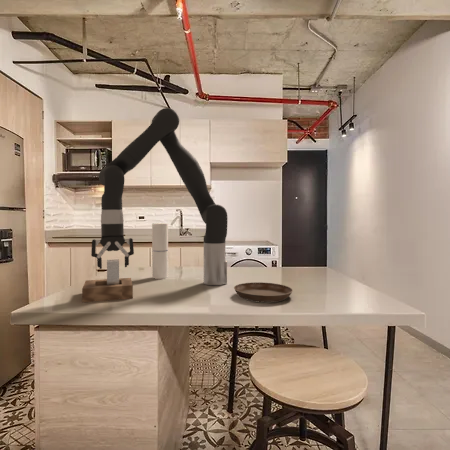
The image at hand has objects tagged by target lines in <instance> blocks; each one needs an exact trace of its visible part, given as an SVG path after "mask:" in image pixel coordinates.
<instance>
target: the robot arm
mask: <svg viewBox="0 0 450 450" xmlns="http://www.w3.org/2000/svg"><path fill="white" fill-rule="evenodd" d="M179 116H180V115H179V114H178V113H177V111H176V110H174V109H173V108H169V107H164V108H162V109H160V110H159V111H158V112H157V113H156V114H155V115H154V116H153V117H152V119H151V123H150V124H149V126H148V127H147V128H146V129H145V130H144V131H143V132H142V133H141V134H140V135H138V136H137V137H136V138H135V139H134V140H133V141H131V142H130V143H129V144H128V145H127V146H126V147H125V148H124V149H123V150H122V151H121V152H120V153H118V155H117V156H116V157H115V158H114V159H112V160H111V161H110V162H109V163H108V164H106V165H105V166H104V167H103V168H102V169H101V170H100V171H99V174H98V180H99V183H100V184H101V185H103V187H104V188H103V189H104V190H103V194H102V195H101V199H100V200H101V202H100V203H101V214H100V225H101V226H100V229H101V231H100V233H101V234H100V236H101V238H100V239H94V238H93V239H92V240H91V251H90V252H91V253H90V254H91V257H92V258H93V257H94V258H96V263H97V264H96V266H97V268H99V270H102V268H103V267H102V266H103V265H102V263H103V262H102V256H103V255H104V253H105V252H106V251H107V252H118V251H119V250H120V252H121V253H122V254H123V255H124V268H128V266H129V265H130V259H129V258H130V256H132V255H134V254H135V250H134V239H133V237H129V238H125V237H124V235H125V232H124V213H123V212H124V211H123V194H124V190H125V189H124V187H125V175H126V174H127V173H128V172H130V171H132V170H133V169H135V168H136V167H137V166H138V164H139V163H141V162H142V161H143V160H144V159H145V157H146V156H147V155H148V154H149V153H150V152H151V150H152V149H153V148H154V147H155V146H156V145H157V144H158V143H159V142H160V144H161V145H162V146H163V148H164V149H165V151H166V153H167V154H168V157H169V159H170V160H171V162H172V164H173V166H174V167H175V169H176V172H177V173H178V175H179V177H180V179H181V180H182V183H183V184H184V185H185V188H186V189H187V191H188V192H189V195H190V196H191V198H192V199H193V201H194V203H195V205H196V207H197V209H198V212H199V216H200V217H201V219H202V221H203V223H205V234H204V235H203V284H204V285H206V286H207V285H208V286H221V285H226V284H228V261H227V260H226V238H227V235H228V212H227V209H226V208H225V207H224V206H223V205H221V204H216V203H215V200H214V199H213V198H212V196H211V193H210V192H209V189H208V185H207V181H206V177H205V174H204V172H203V169H202V168H201V166H200V164H199V162H198V160H197V158H196V157H195V156H194V155H193V153H191V152H190V150H188V149H187V148H186V147H185V146H184V145H183V144H182V142H181V141H180V139H179V137H178V136H177V133H176V130H177V129H178V127H179V125H180V117H179ZM125 243H126V244H127V245H129V251H128V252H127V250H126V249H125V247H123V246H124V244H125ZM99 244H101V246H102V249H101V250H100V251H99V253H96V250H97V249H96V248H97V247H98V245H99Z"/></svg>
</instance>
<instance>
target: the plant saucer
mask: <svg viewBox="0 0 450 450" xmlns="http://www.w3.org/2000/svg"><path fill="white" fill-rule="evenodd" d="M233 289H234V291H235V293H236V294H237V295H238V296H239V297H240V298H242V299H243V300H246V301H250V302H255V303H279V302H282V301H285V300H286V299H288V298H289V297H290V296H291V294H292V293H293V292H294V290H293V288H291V287H290V286H287V285H285V284H278V283H273V282H262V281H261V282H245V283H239V284H237V285H235V286H234V287H233Z"/></svg>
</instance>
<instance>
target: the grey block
mask: <svg viewBox="0 0 450 450" xmlns="http://www.w3.org/2000/svg"><path fill="white" fill-rule="evenodd" d="M106 279H107V285H119V279H120V260H119V258H117V259H107V261H106Z"/></svg>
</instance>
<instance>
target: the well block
mask: <svg viewBox="0 0 450 450" xmlns="http://www.w3.org/2000/svg"><path fill="white" fill-rule="evenodd" d="M133 288H134V285H133V281H132V277H124V278H123V277H122V278H121V277H119V285H107V278H104V279H103V278H102V279H89V280H85V282H84V284H83V286H82V289H81V292H82V293H81V294H82V298H81V299H82V303H91V302H92V303H93V302H103V301H104V302H105V301H115V300H116V301H117V300H127V299H128V300H129V299H133V297H134V291H133V290H134V289H133Z"/></svg>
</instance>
